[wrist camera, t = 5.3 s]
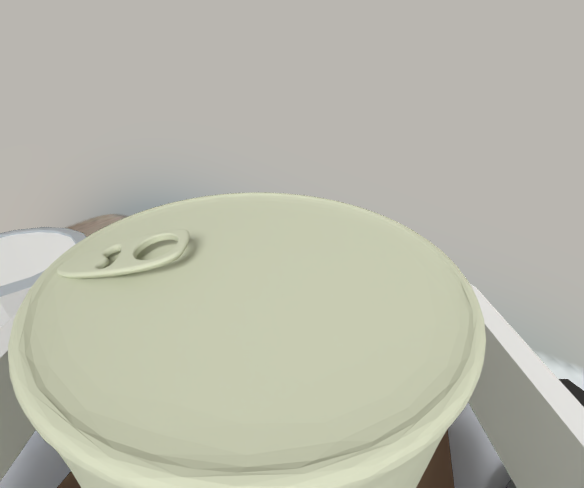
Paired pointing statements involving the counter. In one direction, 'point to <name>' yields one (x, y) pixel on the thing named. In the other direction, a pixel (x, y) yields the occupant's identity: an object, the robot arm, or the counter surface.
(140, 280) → the can
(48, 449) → the counter surface
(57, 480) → the counter surface
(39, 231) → the shot glass
